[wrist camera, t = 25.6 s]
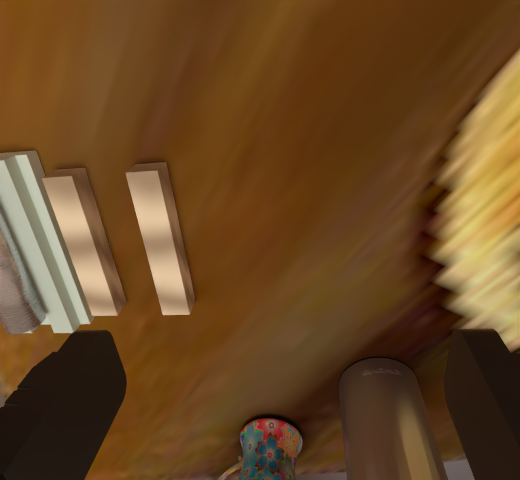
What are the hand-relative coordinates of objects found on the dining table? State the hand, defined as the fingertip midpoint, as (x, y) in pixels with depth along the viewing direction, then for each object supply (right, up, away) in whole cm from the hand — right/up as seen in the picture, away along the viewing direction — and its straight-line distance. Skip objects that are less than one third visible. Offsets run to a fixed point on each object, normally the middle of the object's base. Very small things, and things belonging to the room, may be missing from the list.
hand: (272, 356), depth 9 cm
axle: (-26, +1, +30) cm, 40 cm away
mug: (0, -24, +45) cm, 51 cm away
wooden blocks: (-14, +3, +32) cm, 35 cm away
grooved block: (-26, +2, +34) cm, 43 cm away
